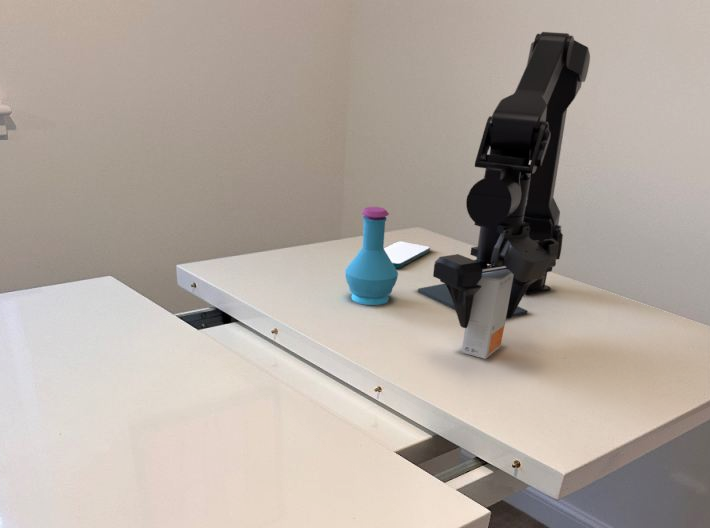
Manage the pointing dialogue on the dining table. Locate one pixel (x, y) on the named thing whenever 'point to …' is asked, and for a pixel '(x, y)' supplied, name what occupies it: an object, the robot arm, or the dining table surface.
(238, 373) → the dining table surface
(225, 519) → the dining table surface
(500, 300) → the cosmetic box
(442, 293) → the side mat
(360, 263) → the perfume bottle
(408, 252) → the smartphone
